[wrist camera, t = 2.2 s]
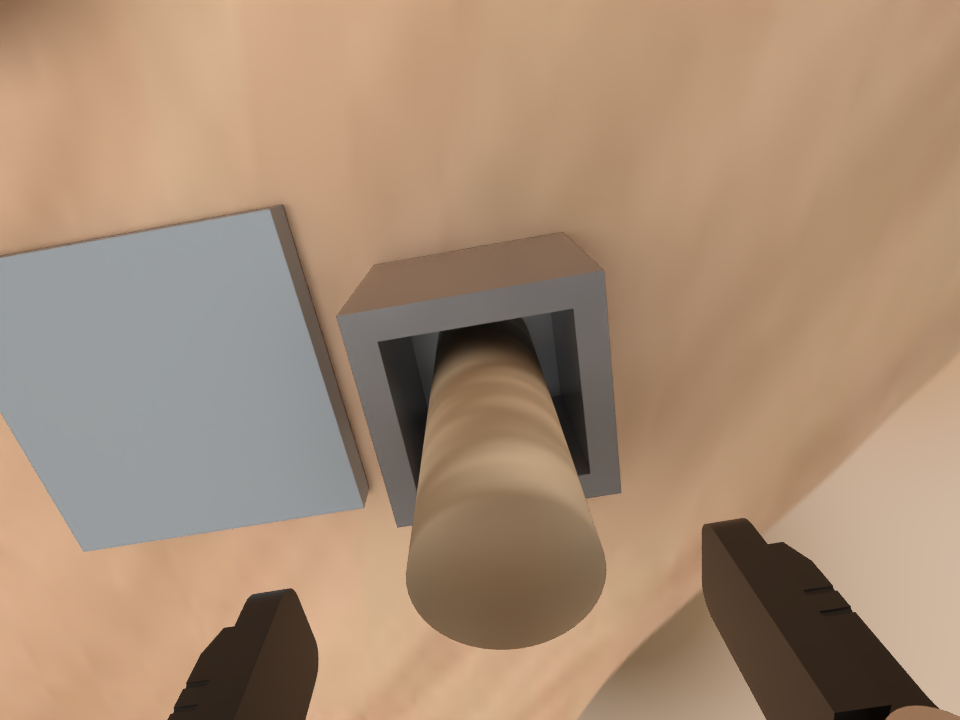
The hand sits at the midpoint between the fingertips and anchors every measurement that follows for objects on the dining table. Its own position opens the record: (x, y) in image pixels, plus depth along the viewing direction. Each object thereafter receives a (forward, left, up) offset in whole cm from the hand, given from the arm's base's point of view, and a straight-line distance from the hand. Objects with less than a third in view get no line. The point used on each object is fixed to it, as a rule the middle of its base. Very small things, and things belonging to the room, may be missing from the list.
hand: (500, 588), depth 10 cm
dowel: (0, 0, -13) cm, 13 cm away
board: (+14, 0, -14) cm, 20 cm away
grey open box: (0, 0, -14) cm, 14 cm away
